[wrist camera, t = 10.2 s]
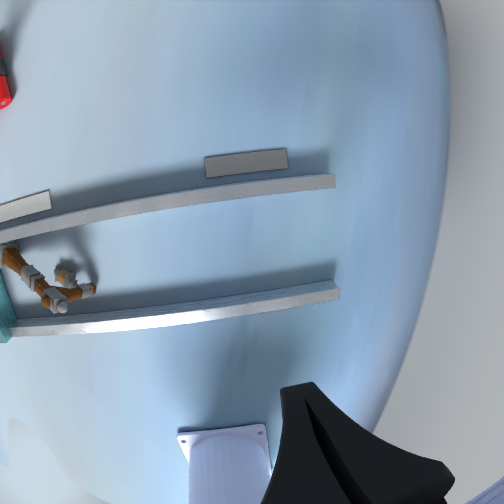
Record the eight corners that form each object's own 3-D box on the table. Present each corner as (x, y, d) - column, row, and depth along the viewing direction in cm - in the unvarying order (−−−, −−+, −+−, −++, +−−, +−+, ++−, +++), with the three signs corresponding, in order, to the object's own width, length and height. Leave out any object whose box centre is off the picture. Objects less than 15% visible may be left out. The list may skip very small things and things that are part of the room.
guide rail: (331, 289, 21) (345, 305, 19) (12, 328, 19) (-2, 342, 17) (323, 146, 18) (338, 144, 16) (-22, 213, 16) (-41, 219, 14)
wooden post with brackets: (103, 307, 19) (55, 326, 15) (38, 258, 20) (-6, 267, 16) (107, 284, 19) (57, 300, 14) (41, 237, 20) (-4, 243, 16)
